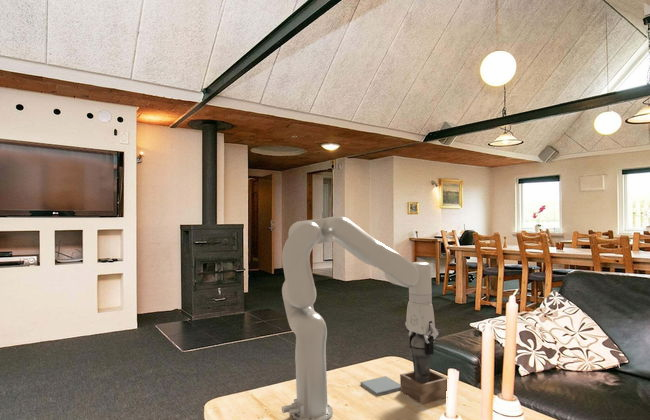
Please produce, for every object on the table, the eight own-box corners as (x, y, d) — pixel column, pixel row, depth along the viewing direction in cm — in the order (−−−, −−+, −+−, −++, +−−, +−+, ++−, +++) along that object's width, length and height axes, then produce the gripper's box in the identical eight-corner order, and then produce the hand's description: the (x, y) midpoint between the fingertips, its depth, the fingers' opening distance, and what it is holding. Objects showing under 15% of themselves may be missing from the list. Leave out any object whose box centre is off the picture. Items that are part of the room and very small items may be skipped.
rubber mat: (377, 395, 138) (377, 392, 138) (360, 384, 148) (360, 382, 148) (403, 389, 143) (403, 386, 143) (385, 378, 153) (385, 376, 153)
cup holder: (422, 404, 131) (421, 385, 131) (400, 391, 141) (400, 374, 141) (449, 396, 136) (448, 378, 136) (426, 385, 146) (426, 368, 146)
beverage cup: (433, 385, 134) (432, 323, 135) (411, 383, 135) (409, 322, 136) (432, 377, 141) (431, 318, 142) (410, 375, 143) (409, 317, 143)
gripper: (396, 295, 145) (397, 346, 145) (428, 304, 130) (429, 360, 129) (413, 294, 149) (414, 343, 148) (446, 301, 133) (448, 356, 132)
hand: (421, 350), depth 139 cm, fingers closed on beverage cup, 7 cm apart
